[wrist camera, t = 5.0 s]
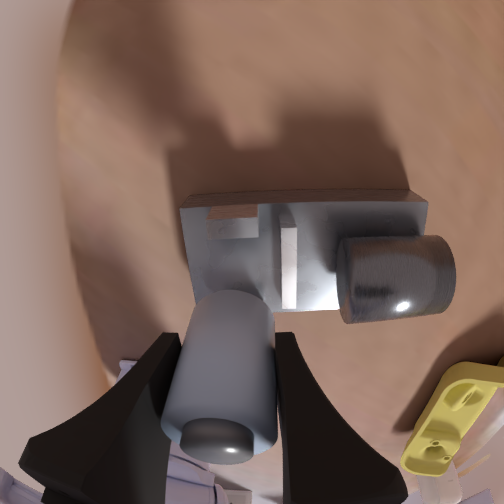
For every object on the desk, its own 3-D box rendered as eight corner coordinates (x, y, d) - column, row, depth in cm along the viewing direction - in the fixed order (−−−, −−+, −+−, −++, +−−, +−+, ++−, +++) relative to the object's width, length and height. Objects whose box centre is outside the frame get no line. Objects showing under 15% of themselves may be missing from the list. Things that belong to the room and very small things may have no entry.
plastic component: (451, 375, 22) (525, 385, 18) (448, 333, 28) (513, 345, 24) (389, 470, 30) (448, 478, 26) (398, 432, 36) (452, 441, 32)
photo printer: (453, 452, 37) (468, 501, 26) (436, 462, 39) (449, 511, 28) (427, 451, 35) (443, 509, 24) (409, 462, 37) (422, 519, 26)
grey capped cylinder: (205, 356, 14) (183, 470, 8) (180, 296, 12) (135, 420, 7) (280, 347, 13) (285, 469, 8) (266, 283, 12) (266, 419, 6)
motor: (204, 291, 21) (183, 363, 15) (189, 195, 18) (152, 243, 12) (408, 282, 20) (448, 344, 14) (423, 190, 17) (484, 232, 11)
